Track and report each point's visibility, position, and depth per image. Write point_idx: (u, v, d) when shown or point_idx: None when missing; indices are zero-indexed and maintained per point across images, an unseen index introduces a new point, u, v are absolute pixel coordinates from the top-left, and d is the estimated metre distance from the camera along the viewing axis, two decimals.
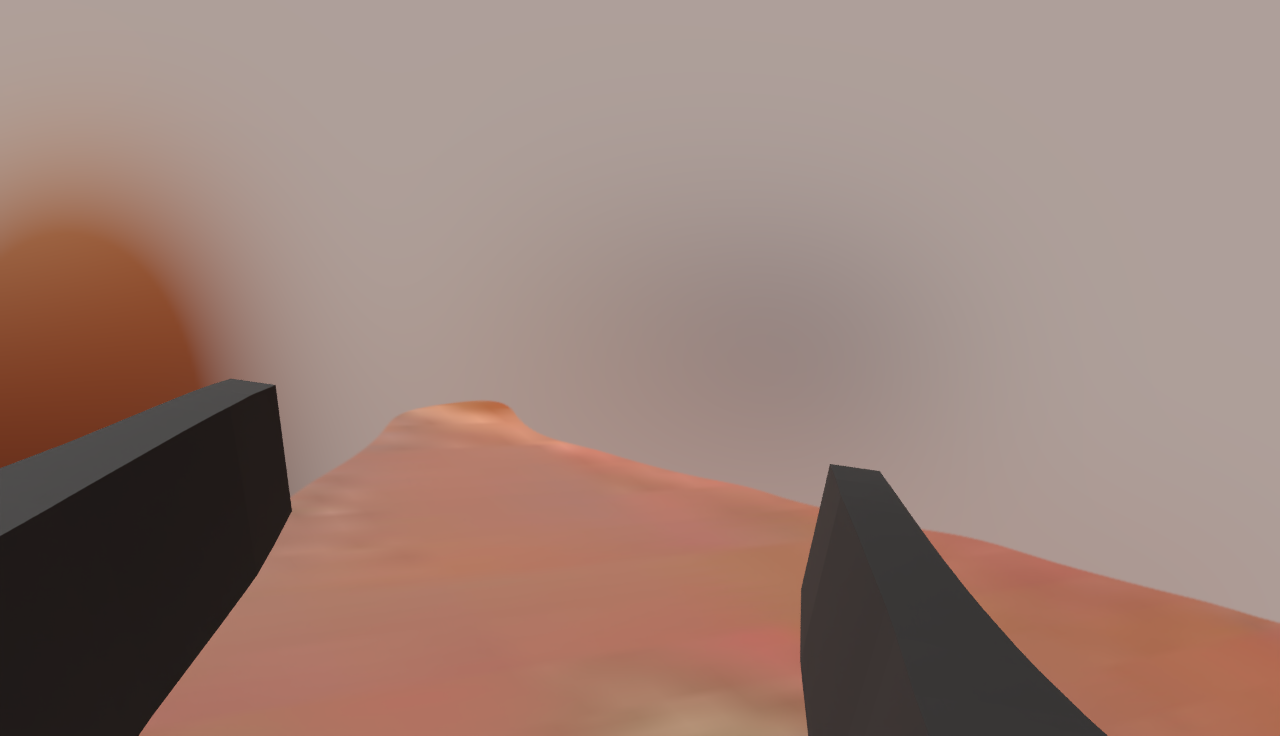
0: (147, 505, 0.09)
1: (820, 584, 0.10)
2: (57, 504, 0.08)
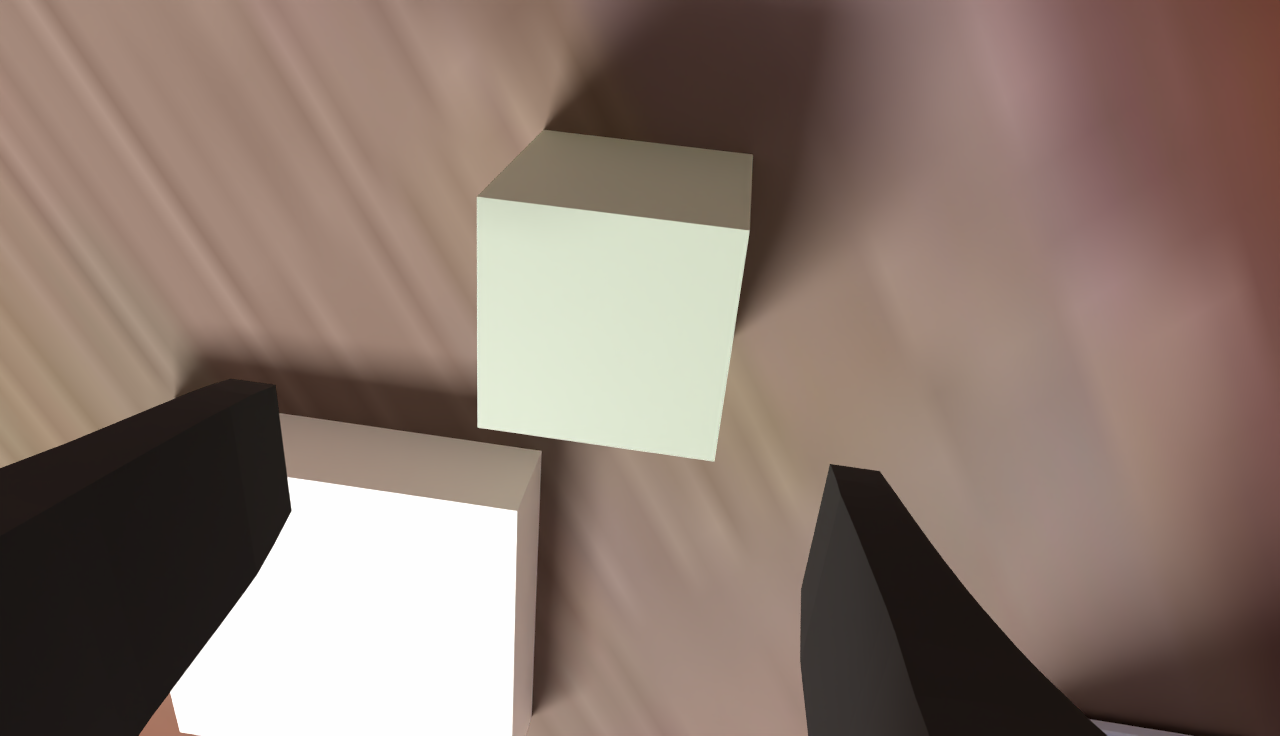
0: (147, 505, 0.09)
1: (820, 584, 0.10)
2: (57, 504, 0.08)
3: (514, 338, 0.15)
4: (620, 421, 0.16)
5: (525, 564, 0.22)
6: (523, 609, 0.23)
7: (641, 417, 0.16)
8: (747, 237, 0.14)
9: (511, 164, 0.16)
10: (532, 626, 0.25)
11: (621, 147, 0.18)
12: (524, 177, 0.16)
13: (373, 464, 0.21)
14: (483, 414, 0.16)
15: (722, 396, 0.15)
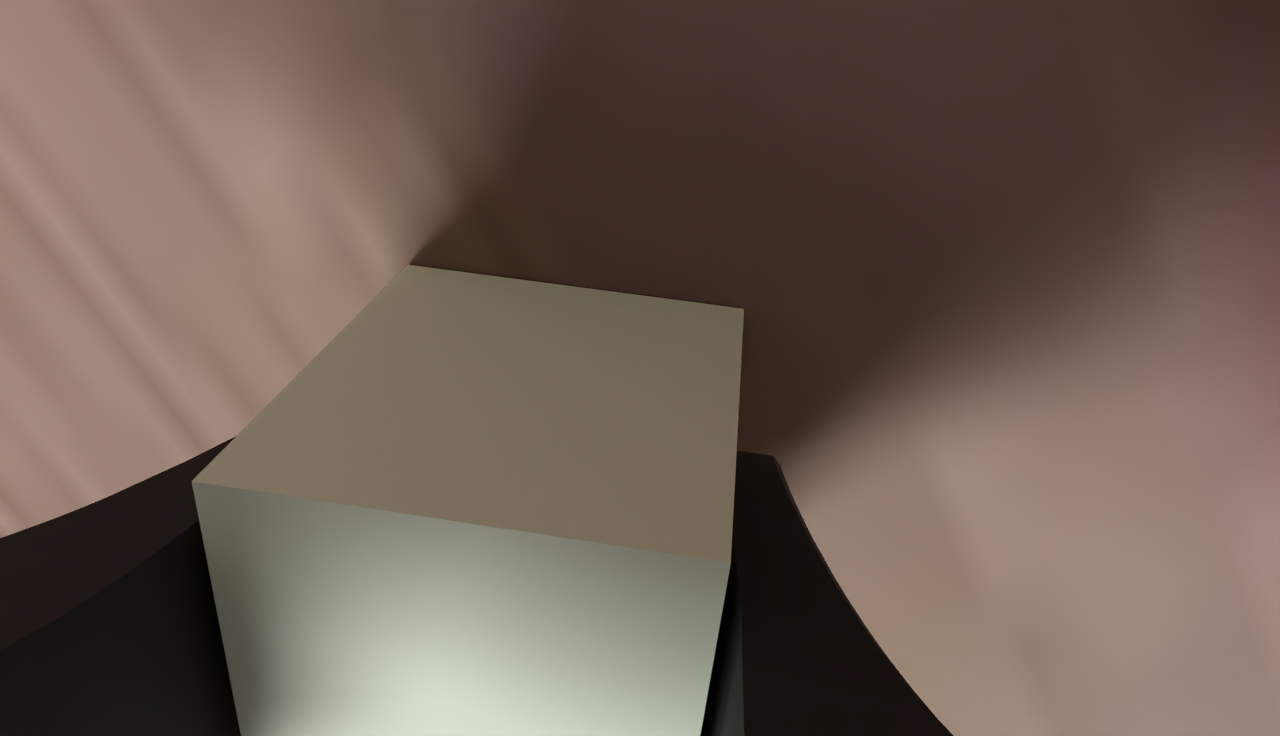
0: None
1: None
2: (192, 525, 0.08)
3: (299, 703, 0.08)
4: None
5: None
6: None
7: None
8: (726, 573, 0.07)
9: (310, 366, 0.09)
10: None
11: (525, 305, 0.11)
12: (319, 405, 0.08)
13: None
14: None
15: None
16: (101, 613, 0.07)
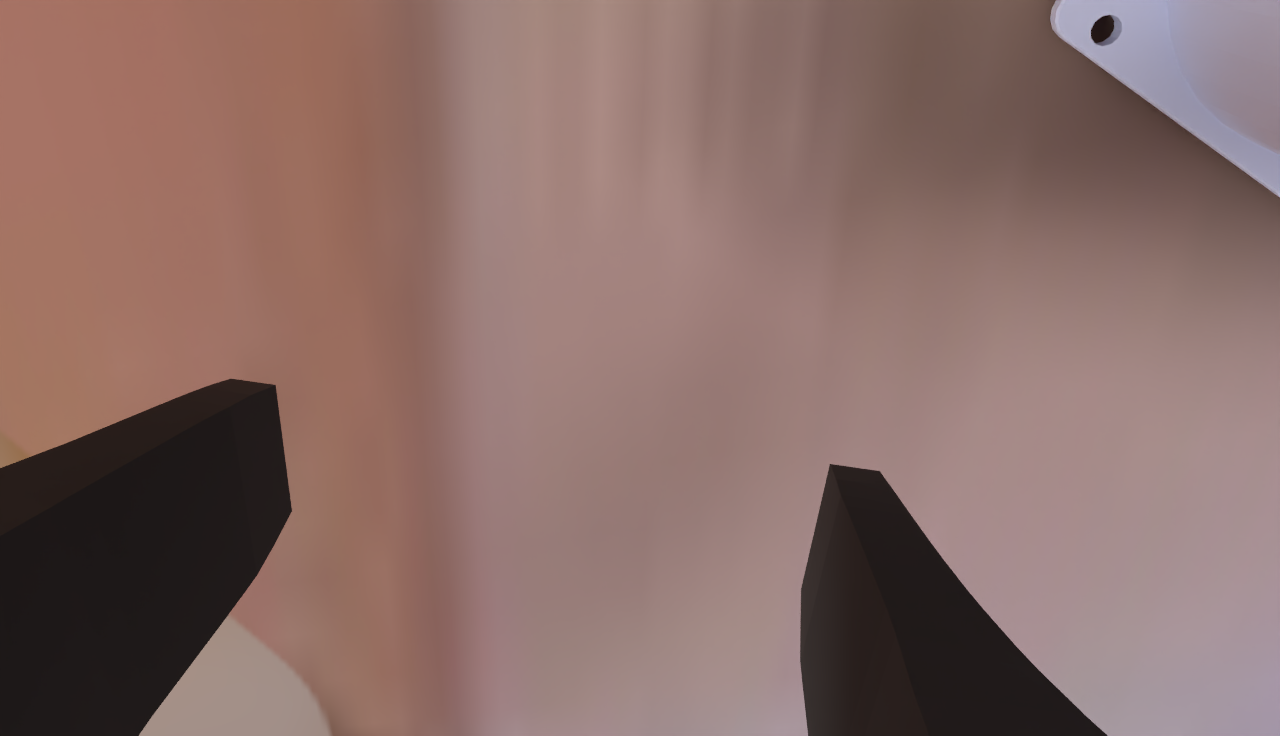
0: (147, 505, 0.09)
1: (820, 584, 0.10)
2: (57, 504, 0.08)
3: None
4: None
5: None
6: None
7: None
8: None
9: None
10: None
11: None
12: None
13: None
14: None
15: None
16: None
